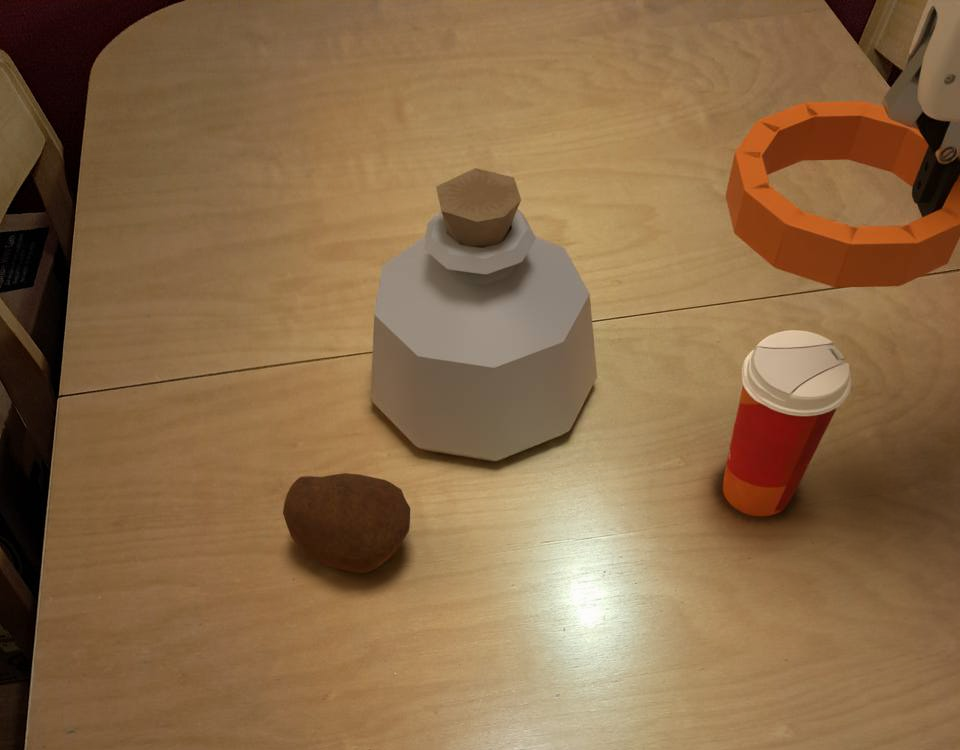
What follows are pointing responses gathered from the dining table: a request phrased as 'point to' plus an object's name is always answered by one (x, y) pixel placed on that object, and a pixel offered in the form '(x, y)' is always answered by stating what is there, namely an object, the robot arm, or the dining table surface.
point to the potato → (347, 519)
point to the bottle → (481, 329)
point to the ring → (827, 243)
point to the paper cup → (782, 417)
